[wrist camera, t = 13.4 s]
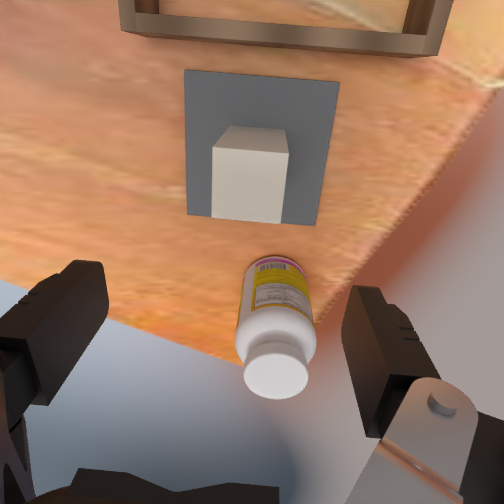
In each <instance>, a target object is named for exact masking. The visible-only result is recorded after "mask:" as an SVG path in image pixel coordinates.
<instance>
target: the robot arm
mask: <svg viewBox="0 0 504 504" xmlns="http://www.w3.org/2000/svg"><path fill="white" fill-rule="evenodd" d="M108 309H109V299H108V293H107V286H106V280H105V274H104V268H103V265H102V263H101V262H97V261H86V260H73V261H72V262H71V263H70V264H69V265H68V266H67V267H66V268H65V269H64V270H63V271H62V272H61V273H60V274H57V273H56V274H54V275H52V276H50V277H48V278H46V279H44V280H42V281H41V282H39V283H38V284H37V285H36V286H35V287H34V288H32V289H31V290H30V291H29V292H28V295H25V296H24V297H23V298H22V299H21V300H20V301H18V304H15V305H14V306H13V307H12V308H11V309H10V310H9V311H8V312H6V313H5V314H4V315H3V316H2V317H1V318H0V504H279V487H271V486H260V485H250V484H239V483H225V484H219V485H214V486H208V487H203V488H198V489H192V490H187V491H182V492H173V491H170V490H167V489H165V488H163V487H160V486H158V485H155V484H153V483H151V482H148V481H146V480H144V479H141V478H139V477H136V476H134V475H132V474H129V473H125V472H115V471H104V470H94V469H84V468H78V470H77V473H76V475H75V477H74V479H73V481H72V483H71V485H70V486H66V487H62V488H59V489H56V490H52V491H50V492H47V493H45V494H42V495H40V496H38V497H36V494H35V490H34V485H33V480H32V472H31V463H30V455H29V446H28V438H27V429H26V421H25V417H24V415H23V413H24V412H25V411H26V409H27V408H28V406H29V405H30V404H34V405H45V406H48V405H49V404H50V402H51V401H52V399H53V398H54V396H55V395H56V393H57V392H58V390H59V389H60V387H61V386H62V384H63V382H64V381H65V380H66V378H67V377H68V375H69V374H70V372H71V371H72V369H73V368H74V366H75V365H76V363H77V362H78V360H79V358H80V357H81V356H82V354H83V352H84V351H85V349H86V348H87V346H88V345H89V343H90V342H91V340H92V339H93V337H94V335H95V334H96V333H97V331H98V330H99V328H100V327H101V325H102V324H103V322H104V320H105V319H106V317H107V314H108ZM341 338H342V344H343V348H344V352H345V356H346V360H347V364H348V367H349V372H350V376H351V380H352V384H353V387H354V391H355V395H356V399H357V403H358V407H359V411H360V415H361V419H362V423H363V427H364V430H365V434H366V437H369V438H380V439H381V440H380V441H379V442H378V444H377V446H376V448H375V449H374V451H373V453H372V455H371V456H370V458H369V460H368V462H367V464H366V466H365V467H364V469H363V471H362V473H361V475H360V477H359V479H358V480H357V482H356V484H355V486H354V488H353V490H352V491H351V493H350V495H349V497H348V499H347V501H346V502H345V504H504V421H503V420H500V419H497V418H495V417H492V416H489V415H486V414H483V413H481V412H478V411H477V410H476V408H475V406H474V404H473V403H472V402H471V400H470V399H469V398H468V397H467V396H466V395H465V394H464V393H463V392H462V391H461V390H459V389H458V388H456V387H455V386H453V385H451V384H449V383H447V382H445V381H443V380H442V379H441V377H440V375H439V374H438V372H437V370H436V368H435V366H434V364H433V363H432V361H431V359H430V357H429V356H428V354H427V352H426V350H425V348H424V346H423V344H422V342H420V341H419V337H418V335H417V333H416V331H414V328H413V326H412V324H411V322H410V320H409V318H408V317H407V315H406V314H405V313H403V312H402V311H401V310H400V309H399V308H398V307H397V306H396V305H394V304H387V303H386V301H385V299H384V297H383V295H382V293H381V291H380V289H379V288H378V287H371V286H358V285H354V286H352V288H351V291H350V295H349V299H348V303H347V307H346V310H345V315H344V318H343V322H342V329H341Z"/></svg>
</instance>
